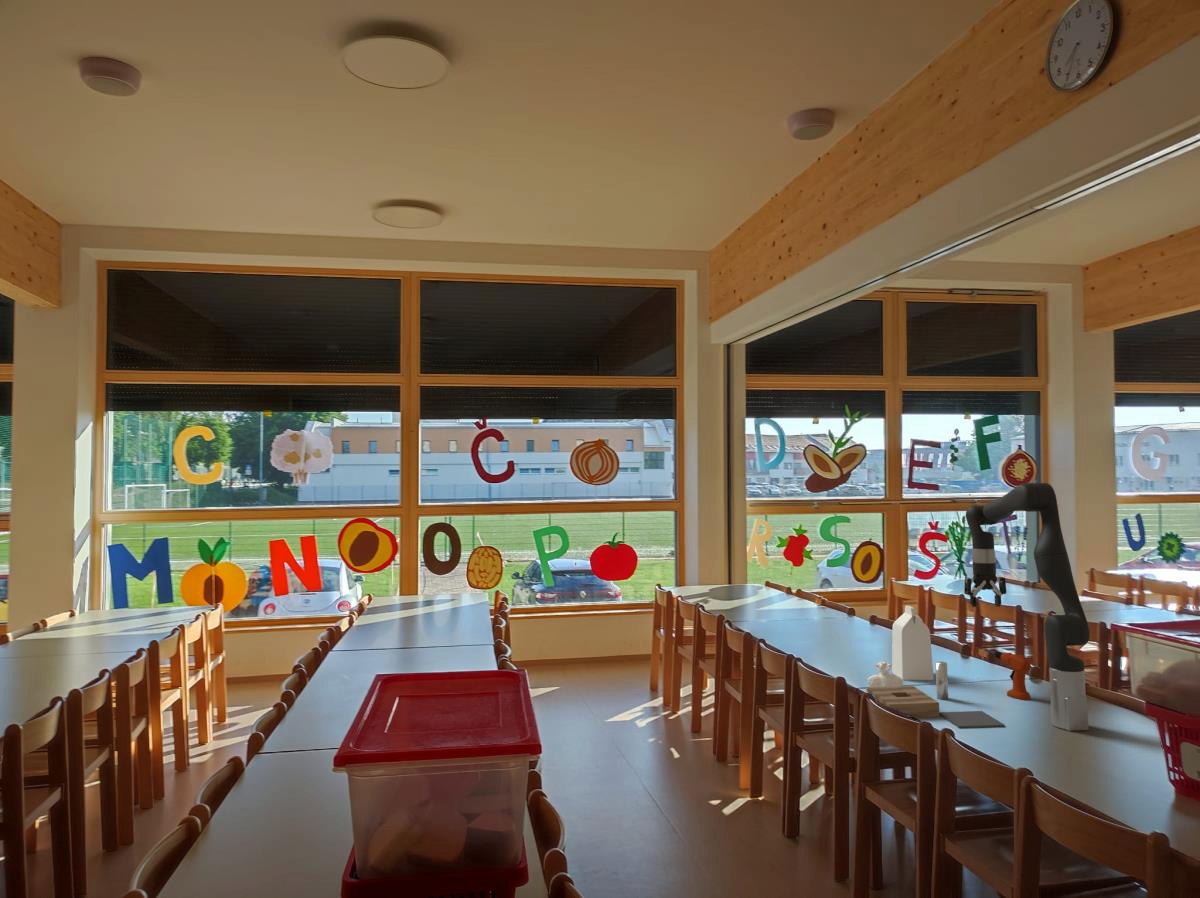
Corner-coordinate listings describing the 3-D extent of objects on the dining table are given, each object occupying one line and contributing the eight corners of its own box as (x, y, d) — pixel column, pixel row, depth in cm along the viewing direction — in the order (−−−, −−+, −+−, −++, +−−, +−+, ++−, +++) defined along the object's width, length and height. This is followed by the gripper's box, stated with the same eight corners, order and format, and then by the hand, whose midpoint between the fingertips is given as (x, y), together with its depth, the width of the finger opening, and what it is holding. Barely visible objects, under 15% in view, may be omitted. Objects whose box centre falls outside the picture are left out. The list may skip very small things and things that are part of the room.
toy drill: (987, 681, 283) (990, 640, 282) (1033, 701, 266) (1036, 658, 265) (977, 683, 281) (980, 642, 280) (1022, 703, 264) (1026, 659, 263)
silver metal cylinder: (950, 699, 267) (948, 663, 268) (939, 699, 267) (938, 664, 268) (945, 696, 271) (944, 661, 271) (935, 696, 271) (933, 661, 271)
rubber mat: (1004, 726, 238) (1004, 724, 238) (959, 728, 238) (958, 726, 238) (981, 712, 252) (981, 710, 252) (938, 714, 252) (938, 712, 252)
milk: (891, 672, 305) (889, 604, 306) (922, 671, 305) (919, 604, 306) (902, 680, 293) (899, 609, 294) (933, 679, 293) (931, 609, 294)
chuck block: (939, 717, 249) (939, 702, 249) (889, 718, 249) (888, 704, 249) (913, 699, 269) (913, 685, 269) (866, 700, 269) (866, 687, 269)
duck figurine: (902, 698, 278) (896, 667, 285) (906, 689, 272) (900, 658, 280) (867, 697, 280) (862, 667, 287) (871, 689, 274) (865, 658, 281)
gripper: (970, 562, 279) (972, 609, 278) (1009, 561, 280) (1011, 607, 279) (959, 560, 286) (961, 605, 286) (997, 559, 287) (999, 604, 286)
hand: (986, 606), depth 282 cm, fingers open, 8 cm apart
